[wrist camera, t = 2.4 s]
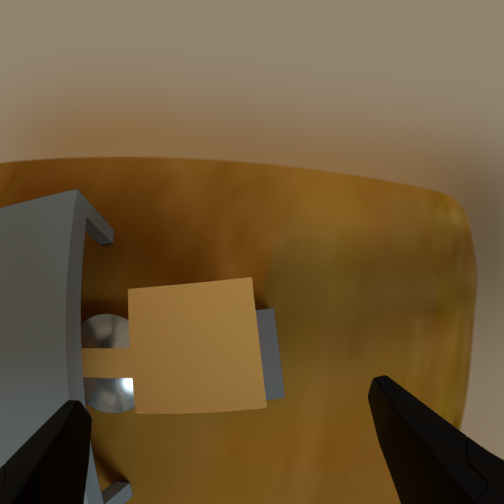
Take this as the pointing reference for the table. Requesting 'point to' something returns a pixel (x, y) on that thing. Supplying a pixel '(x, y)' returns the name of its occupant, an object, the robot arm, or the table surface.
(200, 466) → the table surface
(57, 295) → the blue-grey bench
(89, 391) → the silver metal disc
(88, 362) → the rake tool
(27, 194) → the table surface
